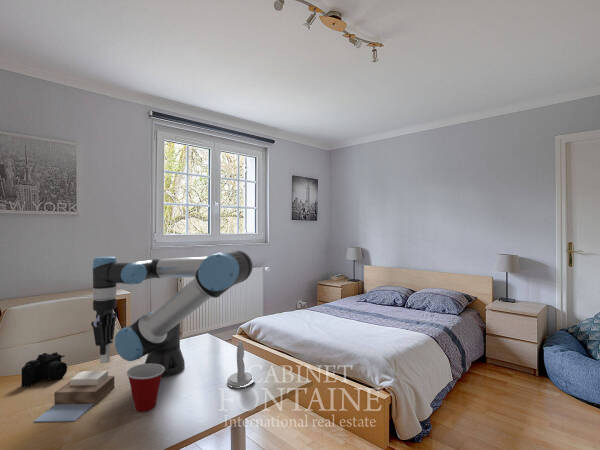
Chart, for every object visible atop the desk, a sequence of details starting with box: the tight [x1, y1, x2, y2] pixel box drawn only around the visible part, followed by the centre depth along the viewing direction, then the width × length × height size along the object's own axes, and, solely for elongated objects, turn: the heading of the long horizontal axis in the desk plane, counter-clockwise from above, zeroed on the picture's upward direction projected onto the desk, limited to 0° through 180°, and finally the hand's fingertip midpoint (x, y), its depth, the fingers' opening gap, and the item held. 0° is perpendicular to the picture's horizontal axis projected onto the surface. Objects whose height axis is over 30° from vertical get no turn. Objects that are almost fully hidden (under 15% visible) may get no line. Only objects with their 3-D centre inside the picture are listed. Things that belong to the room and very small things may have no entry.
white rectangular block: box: [69, 370, 109, 385], centre depth 113 cm, size 9×6×2 cm, turn 91°
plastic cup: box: [126, 363, 165, 413], centre depth 104 cm, size 11×11×12 cm
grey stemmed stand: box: [226, 340, 253, 388], centre depth 121 cm, size 10×10×15 cm
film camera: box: [21, 351, 68, 388], centre depth 124 cm, size 15×10×9 cm, turn 168°
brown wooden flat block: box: [53, 375, 115, 405], centre depth 111 cm, size 13×11×4 cm
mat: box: [33, 403, 95, 423], centre depth 101 cm, size 12×9×1 cm
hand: (104, 362), depth 123 cm, fingers closed
